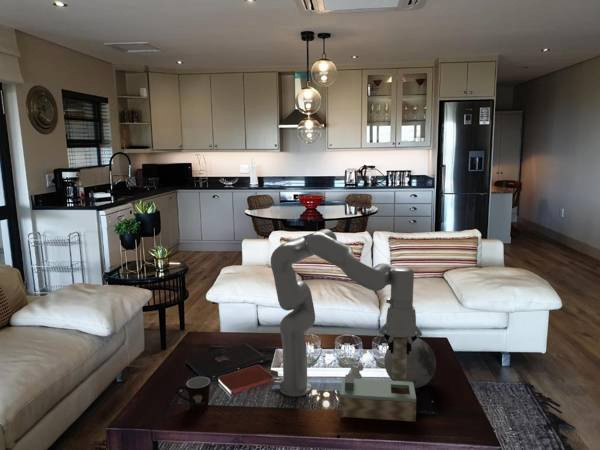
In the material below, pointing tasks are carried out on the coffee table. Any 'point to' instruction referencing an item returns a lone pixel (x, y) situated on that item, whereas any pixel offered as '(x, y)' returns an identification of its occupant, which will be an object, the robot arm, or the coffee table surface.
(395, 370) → the beige tall cylinder
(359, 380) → the lid
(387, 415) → the wooden box
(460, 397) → the coffee table surface
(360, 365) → the duck figurine
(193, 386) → the coffee mug
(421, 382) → the moon model
